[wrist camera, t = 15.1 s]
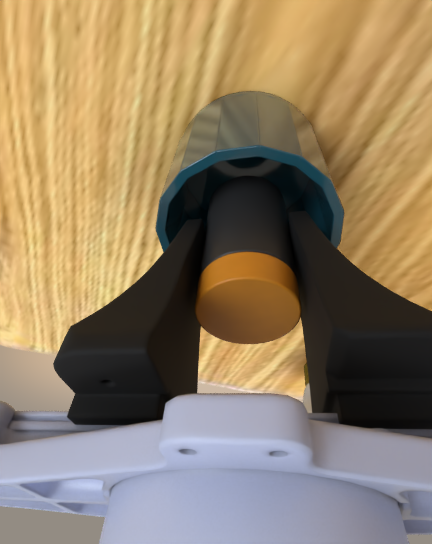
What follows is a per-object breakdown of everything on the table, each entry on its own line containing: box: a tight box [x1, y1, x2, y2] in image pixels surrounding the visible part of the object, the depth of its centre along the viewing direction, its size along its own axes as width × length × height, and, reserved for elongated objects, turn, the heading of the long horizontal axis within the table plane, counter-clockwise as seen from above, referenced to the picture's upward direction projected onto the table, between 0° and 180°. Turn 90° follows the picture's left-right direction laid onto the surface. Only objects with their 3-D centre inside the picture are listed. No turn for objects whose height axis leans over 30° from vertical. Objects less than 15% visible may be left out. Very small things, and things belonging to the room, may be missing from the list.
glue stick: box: [195, 176, 302, 344], centre depth 13 cm, size 3×3×6 cm
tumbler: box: [156, 91, 344, 252], centre depth 15 cm, size 7×7×6 cm
